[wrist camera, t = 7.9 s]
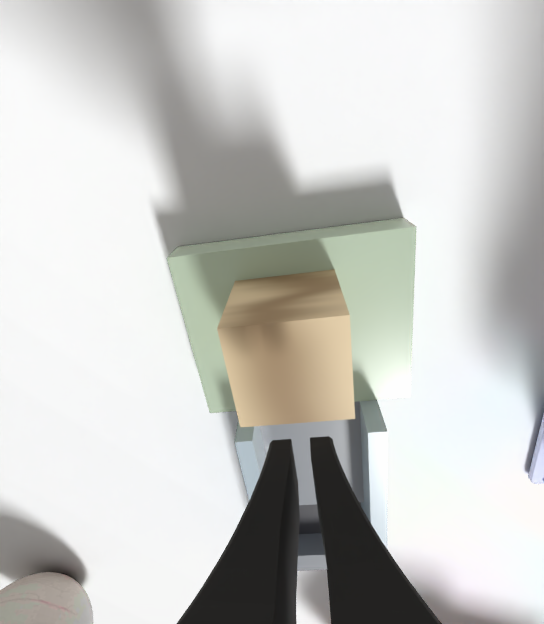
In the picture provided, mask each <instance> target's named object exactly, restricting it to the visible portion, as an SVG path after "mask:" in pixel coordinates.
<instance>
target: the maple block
mask: <svg viewBox="0 0 544 624" xmlns="http://www.w3.org/2000/svg"><path fill="white" fill-rule="evenodd" d="M217 331H218V335H219V339H220V344H221V348H222V352H223V356H224V361H225V365H226V369H227V373H228V378H229V382H230V386H231V390H232V394H233V399H234V403H235V407H236V411H237V416H238V420H239V424H240V427H253V426H267V425H280V424H294V423H307V422H321V421H334V420H347V419H355V406H354V386H353V367H352V347H351V327H350V314H349V311H348V308H347V305H346V302H345V299H344V296H343V293H342V290H341V287H340V284H339V281H338V278H337V275H336V272H335V269H333V270H324V271H316V272H307V273H299V274H290V275H281V276H273V277H264V278H256V279H247V280H239V281H235V282H234V285H233V288H232V290H231V293H230V296H229V298H228V301H227V303H226V306H225V309H224V311H223V314H222V317H221V319H220V322H219V325H218V327H217Z"/></svg>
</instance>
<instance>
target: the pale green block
mask: <svg viewBox="0 0 544 624" xmlns="http://www.w3.org/2000/svg"><path fill="white" fill-rule="evenodd" d="M415 248H416V226H415V225H413V224H412V223H411V222H409V221H408V220H406V219H405V218H397V219H390V220H382V221H374V222H366V223H358V224H351V225H343V226H335V227H327V228H320V229H312V230H304V231H296V232H288V233H281V234H273V235H265V236H257V237H250V238H242V239H234V240H226V241H219V242H211V243H203V244H195V245H187V246H180V247H177V248H176V249H175V250H174V251H173V252H172V253H171V254H170V255H169V256H168V257H167V261H168V265H169V268H170V272H171V275H172V279H173V282H174V286H175V290H176V293H177V297H178V300H179V304H180V308H181V311H182V315H183V318H184V322H185V326H186V329H187V333H188V336H189V340H190V343H191V347H192V351H193V354H194V358H195V361H196V365H197V369H198V372H199V376H200V379H201V383H202V387H203V390H204V394H205V397H206V401H207V404H208V408H209V412H210V413H218V412H230V411H236V407H235V403H234V399H233V394H232V390H231V386H230V382H229V378H228V373H227V369H226V365H225V361H224V356H223V352H222V348H221V344H220V339H219V335H218V331H217V327H218V325H219V322H220V319H221V317H222V314H223V311H224V309H225V306H226V303H227V301H228V298H229V296H230V293H231V290H232V288H233V285H234V282H235V281H239V280H247V279H256V278H264V277H273V276H281V275H290V274H299V273H307V272H316V271H324V270H333V269H335V272H336V275H337V278H338V281H339V284H340V287H341V290H342V293H343V296H344V299H345V302H346V305H347V308H348V311H349V314H350V327H351V347H352V367H353V386H354V406H355V419H347V420H334V421H321V422H307V423H294V424H280V425H267V426H253V427H240V424H239V420H238V425H237V431H236V437H235V446H236V450H237V454H238V458H239V462H240V466H241V470H242V474H243V478H244V482H245V486H246V490H247V494H248V498H249V500H250V498H251V496H252V493H253V491H254V488H255V486H256V484H257V481H258V479H259V476H260V473H261V471H262V468H263V465H264V462H265V459H266V456H267V452H268V449H269V444H270V442H271V441H272V440H282V439H291V441H292V447H293V453H294V460H295V466H296V472H297V479H298V491H299V512H300V519H299V542H298V564H297V571H301V570H327V564H326V558H325V552H324V546H323V540H322V534H321V528H320V522H319V516H318V509H317V501H316V493H315V486H314V478H313V470H312V463H311V451H310V438H311V437H325V436H329V437H331V438H332V439H333V443H334V447H335V450H336V453H337V456H338V459H339V461H340V464H341V466H342V468H343V471H344V473H345V475H346V477H347V480H348V482H349V484H350V486H351V488H352V490H353V492H354V494H355V496H356V498H357V500H358V501H359V503H360V505H361V507H362V509H363V511H364V512H365V514H366V516H367V517H368V519H369V521H370V523H371V524H372V526H373V528H374V529H375V531H376V533H377V534H378V536H379V537H380V539H381V541H382V542H383V544H384V545H385V547H386V548H387V429H386V426H385V423H384V420H383V417H382V414H381V411H380V408H379V405H378V402H377V400H382V399H395V398H407V397H410V388H411V360H412V332H413V304H414V276H415Z"/></svg>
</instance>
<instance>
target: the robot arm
mask: <svg viewBox="0 0 544 624" xmlns="http://www.w3.org/2000/svg"><path fill="white" fill-rule="evenodd" d="M310 451H311V463H312V470H313V478H314V486H315V493H316V501H317V509H318V516H319V522H320V528H321V534H322V540H323V546H324V552H325V558H326V564H327V574H328V587H329V600H330V612H331V624H442V623H441V622H440V621H439V620H438V619H437V617H436V616H435V615H434V613H433V612H432V611H431V609H430V608H429V607H428V605H427V604H426V603H425V602H424V600H423V599H422V598H421V596H420V595H419V594H418V592H417V591H416V590H415V588H414V587H413V586H412V584H411V583H410V582H409V580H408V579H407V578H406V576H405V575H404V573H403V572H402V570H401V569H400V568H399V566H398V565H397V563H396V562H395V560H394V559H393V557H392V556H391V554H390V553H389V551H388V550H387V548H386V547H385V545H384V544H383V542H382V541H381V539H380V537H379V536H378V534H377V533H376V531H375V529H374V528H373V526H372V524H371V523H370V521H369V519H368V517H367V516H366V514H365V512H364V511H363V509H362V507H361V505H360V503H359V501H358V500H357V498H356V496H355V494H354V492H353V490H352V488H351V486H350V484H349V482H348V480H347V477H346V475H345V473H344V471H343V468H342V466H341V464H340V461H339V459H338V456H337V453H336V450H335V447H334V443H333V439H332V438H331V437H329V436H325V437H311V438H310ZM528 477H529V479H530V480H531V482H532V483H535V484H542V483H544V414H543V418H542V422H541V426H540V430H539V434H538V438H537V442H536V447H535V451H534V455H533V459H532V463H531V467H530V471H529V475H528ZM299 519H300V512H299V491H298V479H297V472H296V466H295V460H294V453H293V447H292V441H291V439H282V440H272V441H271V442H270V444H269V449H268V452H267V456H266V459H265V462H264V465H263V468H262V471H261V473H260V476H259V479H258V481H257V484H256V486H255V488H254V491H253V493H252V496H251V498H250V500H249V503H248V505H247V507H246V509H245V511H244V513H243V515H242V517H241V520H240V522H239V524H238V526H237V528H236V530H235V532H234V534H233V536H232V537H231V539H230V541H229V543H228V545H227V547H226V548H225V550H224V552H223V554H222V555H221V557H220V559H219V561H218V562H217V564H216V566H215V567H214V569H213V571H212V572H211V574H210V575H209V577H208V579H207V580H206V582H205V583H204V585H203V587H202V588H201V590H200V591H199V593H198V594H197V596H196V597H195V599H194V600H193V602H192V603H191V605H190V606H189V607H188V609H187V610H186V611H185V613H184V614H183V616H182V617H181V618H180V620H179V621H178V623H177V624H296V586H297V564H298V542H299Z"/></svg>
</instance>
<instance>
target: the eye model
mask: <svg viewBox="0 0 544 624" xmlns="http://www.w3.org/2000/svg"><path fill="white" fill-rule="evenodd" d="M0 624H93V611H92V606H91V603H90V600H89V597H88V595H87V593H86V591H85V590H84V589H83V587H82V586H81V585H80V584H79V583H78V582H77V581H76V580H74V579H73V578H71V577H69V576H67V575H64V574H61V573H56V572H42V573H36V574H32V575H29V576H26V577H23V578H21V579H19V580H16V581H15V582H13V583H11V584H9V585H8V586H6V587H5V588H3V589H2V590H0Z"/></svg>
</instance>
